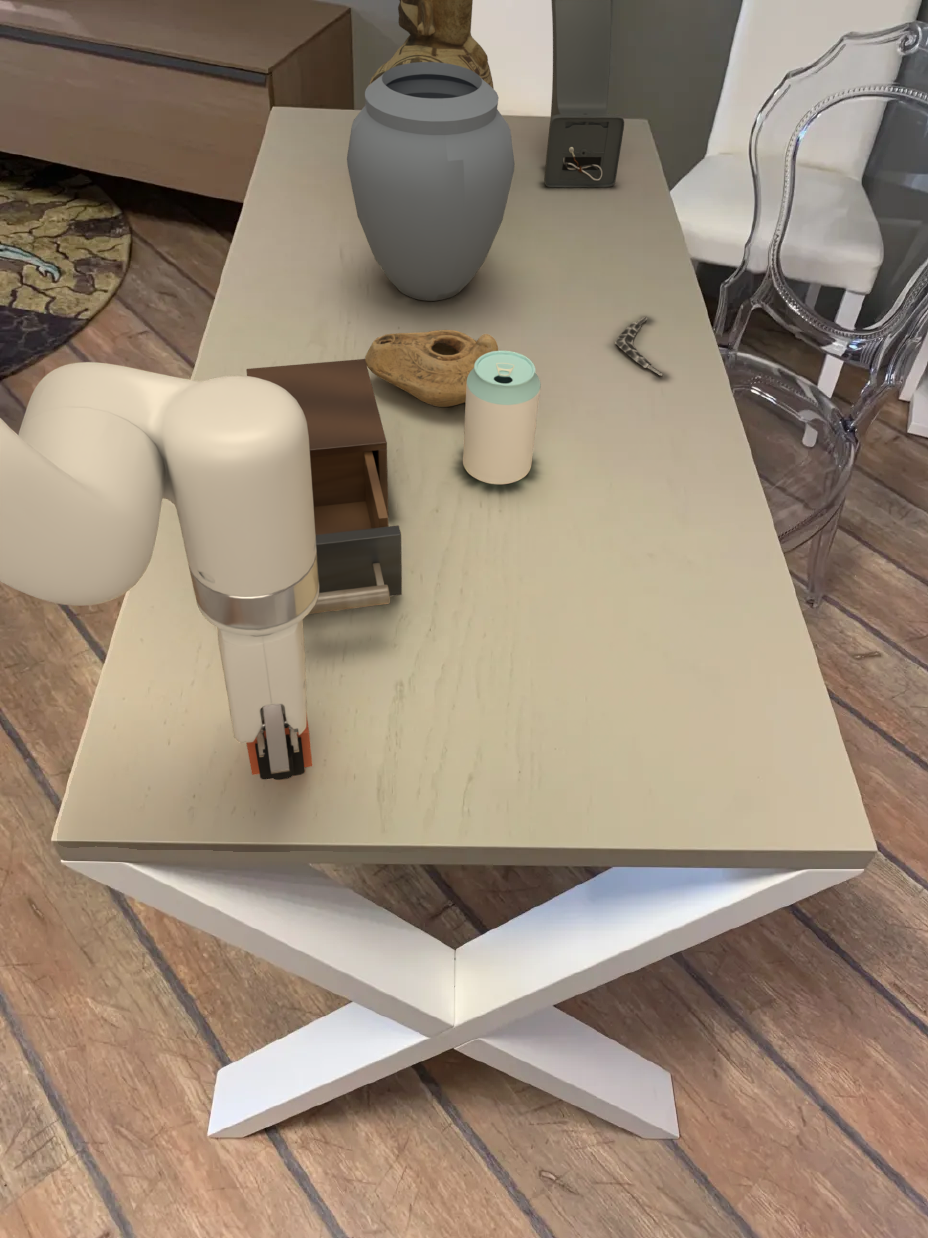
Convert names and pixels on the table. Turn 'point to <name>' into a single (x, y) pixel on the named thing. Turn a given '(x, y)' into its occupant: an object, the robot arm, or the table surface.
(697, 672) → the table surface
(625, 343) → the boomerang
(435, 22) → the brown tall carved piece
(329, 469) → the drawer
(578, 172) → the light fixture
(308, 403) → the cabinet
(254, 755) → the block
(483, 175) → the vase
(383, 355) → the oil lamp
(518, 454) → the can
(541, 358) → the table surface
